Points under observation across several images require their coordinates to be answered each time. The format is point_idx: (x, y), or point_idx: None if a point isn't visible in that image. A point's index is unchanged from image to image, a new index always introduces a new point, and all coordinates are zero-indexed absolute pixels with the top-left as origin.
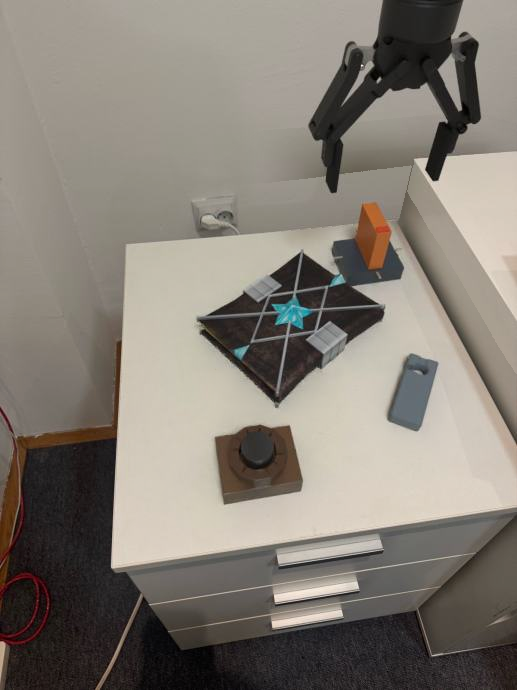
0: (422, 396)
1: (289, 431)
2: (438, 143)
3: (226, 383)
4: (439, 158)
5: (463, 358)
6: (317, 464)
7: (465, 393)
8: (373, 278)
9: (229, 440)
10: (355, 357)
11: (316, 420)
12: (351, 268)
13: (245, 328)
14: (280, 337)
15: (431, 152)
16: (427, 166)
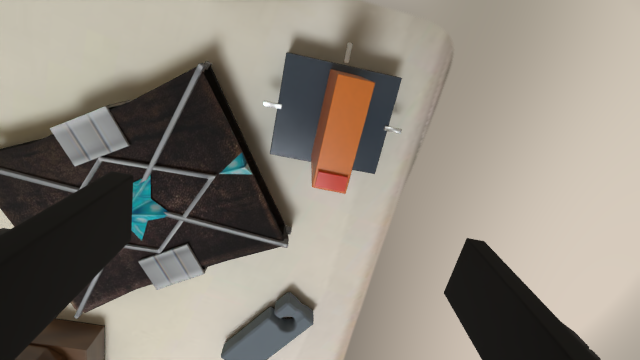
0: (266, 352)
1: (84, 356)
2: (518, 357)
3: None
4: (481, 351)
5: (357, 309)
6: (129, 356)
7: (327, 343)
8: None
9: None
10: (226, 264)
11: (143, 319)
12: (283, 140)
13: (48, 205)
14: None
15: (499, 289)
16: (470, 257)
